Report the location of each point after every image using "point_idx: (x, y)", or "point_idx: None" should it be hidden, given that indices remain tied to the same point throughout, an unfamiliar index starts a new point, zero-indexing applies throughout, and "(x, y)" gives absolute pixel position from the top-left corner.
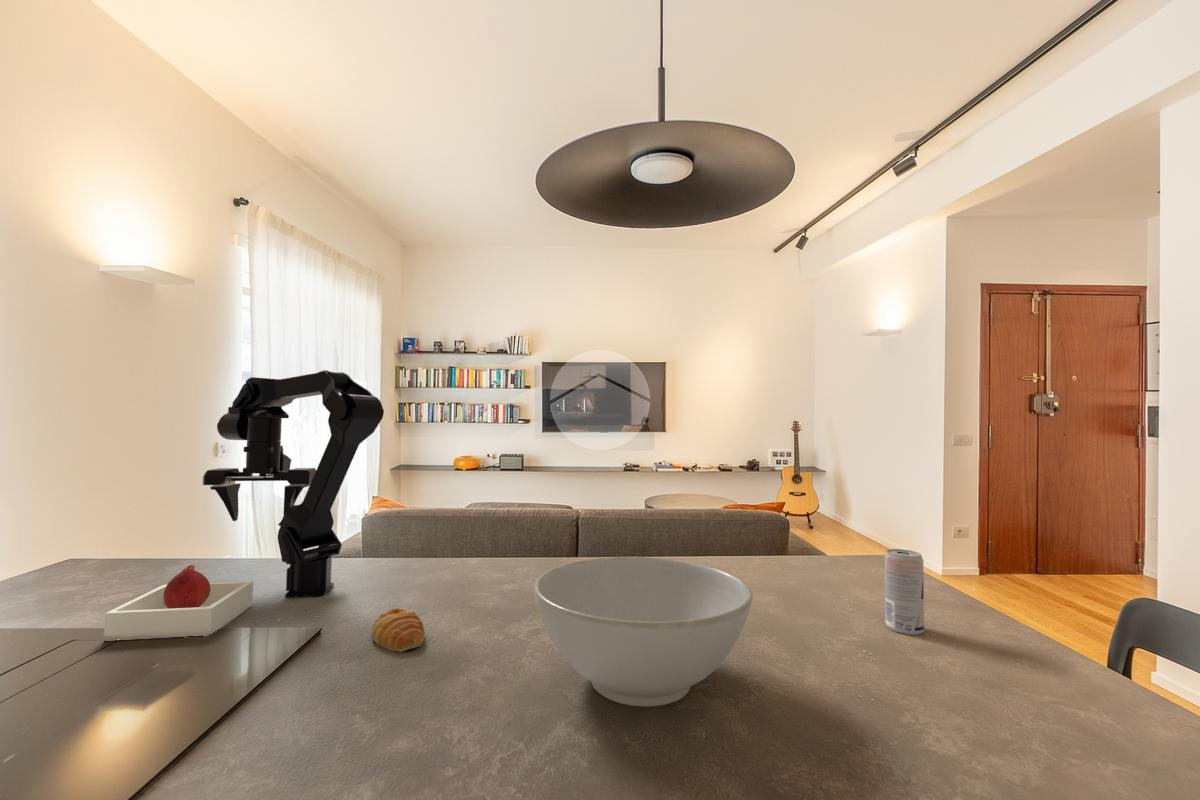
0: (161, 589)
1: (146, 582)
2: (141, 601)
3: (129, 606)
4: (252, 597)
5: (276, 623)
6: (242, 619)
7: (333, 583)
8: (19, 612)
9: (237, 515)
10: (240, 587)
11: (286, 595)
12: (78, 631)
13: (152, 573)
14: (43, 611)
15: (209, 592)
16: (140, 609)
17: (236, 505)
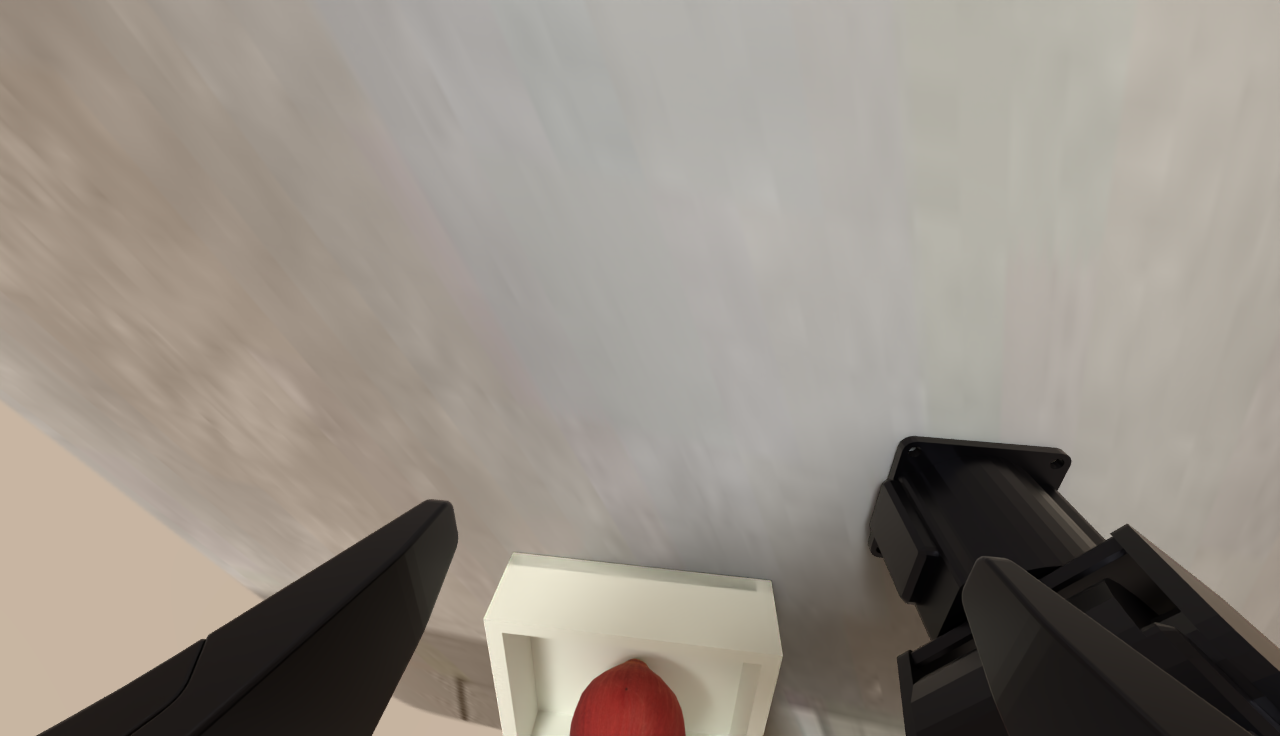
0: (506, 647)
1: (189, 216)
2: (516, 699)
3: (519, 732)
4: (774, 602)
5: (875, 709)
6: None
7: (1069, 464)
8: (136, 488)
9: (426, 541)
10: (760, 700)
11: (875, 554)
12: (426, 642)
13: (46, 16)
14: (191, 495)
15: (683, 722)
16: (523, 679)
17: (335, 667)
